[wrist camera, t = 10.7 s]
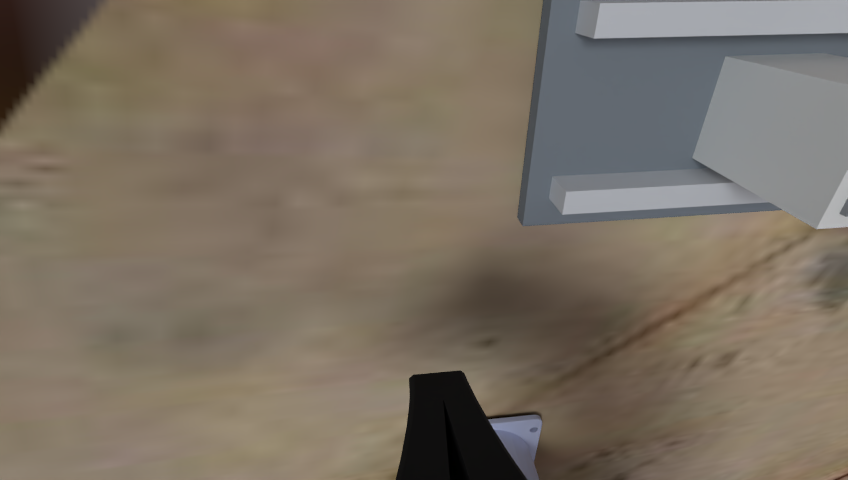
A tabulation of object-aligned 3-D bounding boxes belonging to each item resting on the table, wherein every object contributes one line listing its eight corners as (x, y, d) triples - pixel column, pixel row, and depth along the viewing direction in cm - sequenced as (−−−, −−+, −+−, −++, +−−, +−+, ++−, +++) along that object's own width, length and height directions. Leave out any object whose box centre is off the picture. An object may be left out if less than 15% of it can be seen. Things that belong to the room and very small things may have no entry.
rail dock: (873, 195, 22) (923, 218, 20) (517, 217, 20) (533, 244, 18) (1015, -47, 16) (1103, -49, 14) (548, -45, 15) (576, -47, 13)
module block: (779, 153, 19) (940, 224, 14) (692, 158, 18) (821, 232, 13) (823, 53, 17) (1033, 90, 11) (725, 56, 16) (895, 96, 11)
